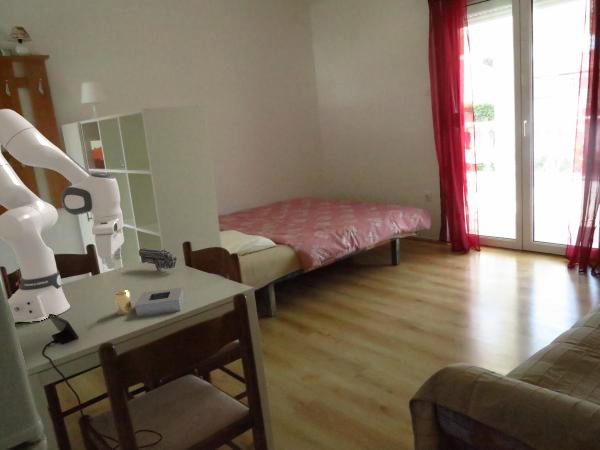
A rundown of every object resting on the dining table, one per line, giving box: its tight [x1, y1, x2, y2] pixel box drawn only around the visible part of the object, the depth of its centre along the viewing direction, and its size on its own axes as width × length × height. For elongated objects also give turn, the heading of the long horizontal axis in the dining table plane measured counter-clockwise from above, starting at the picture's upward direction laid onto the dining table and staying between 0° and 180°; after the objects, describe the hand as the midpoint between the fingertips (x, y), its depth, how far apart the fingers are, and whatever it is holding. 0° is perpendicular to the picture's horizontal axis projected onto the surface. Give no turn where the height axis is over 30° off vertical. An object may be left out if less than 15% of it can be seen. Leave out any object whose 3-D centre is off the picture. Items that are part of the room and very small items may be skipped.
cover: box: [113, 288, 134, 316], centre depth 160 cm, size 5×5×9 cm
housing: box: [134, 287, 185, 318], centre depth 162 cm, size 14×12×5 cm
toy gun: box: [138, 247, 178, 271], centre depth 208 cm, size 3×24×10 cm, turn 55°
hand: (114, 263), depth 157 cm, fingers open, 8 cm apart
